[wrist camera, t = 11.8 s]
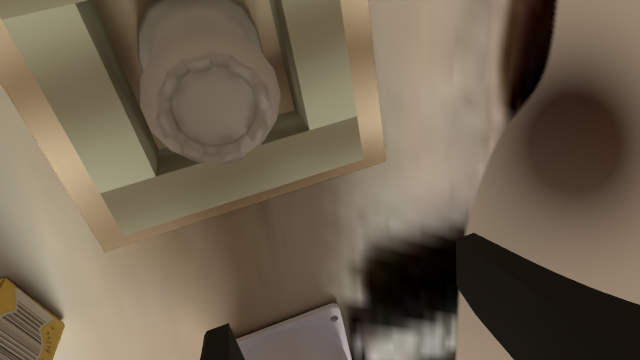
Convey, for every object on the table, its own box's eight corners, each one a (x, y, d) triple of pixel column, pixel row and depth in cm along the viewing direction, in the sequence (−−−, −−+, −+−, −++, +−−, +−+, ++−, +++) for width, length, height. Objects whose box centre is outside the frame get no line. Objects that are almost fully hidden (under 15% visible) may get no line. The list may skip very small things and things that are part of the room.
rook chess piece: (188, -47, 14) (195, -52, 7) (281, 43, 16) (350, 101, 10) (112, 51, 15) (55, 129, 8) (211, 124, 17) (231, 231, 10)
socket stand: (379, 154, 21) (409, 184, 19) (107, 241, 19) (95, 289, 16) (336, -196, 14) (375, -234, 11) (-111, -121, 12) (-199, -145, 9)
